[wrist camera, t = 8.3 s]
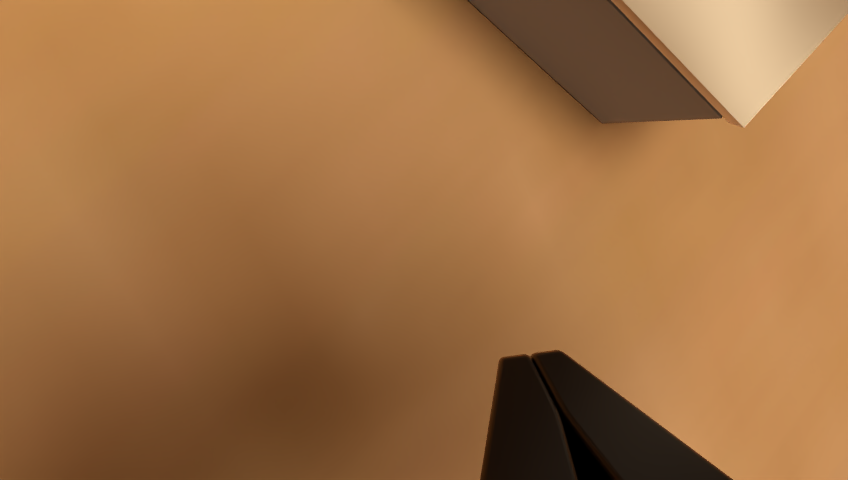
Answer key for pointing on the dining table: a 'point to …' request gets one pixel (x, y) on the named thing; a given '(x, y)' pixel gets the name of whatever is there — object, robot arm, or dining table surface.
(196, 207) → the dining table surface
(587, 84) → the box
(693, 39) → the lid
